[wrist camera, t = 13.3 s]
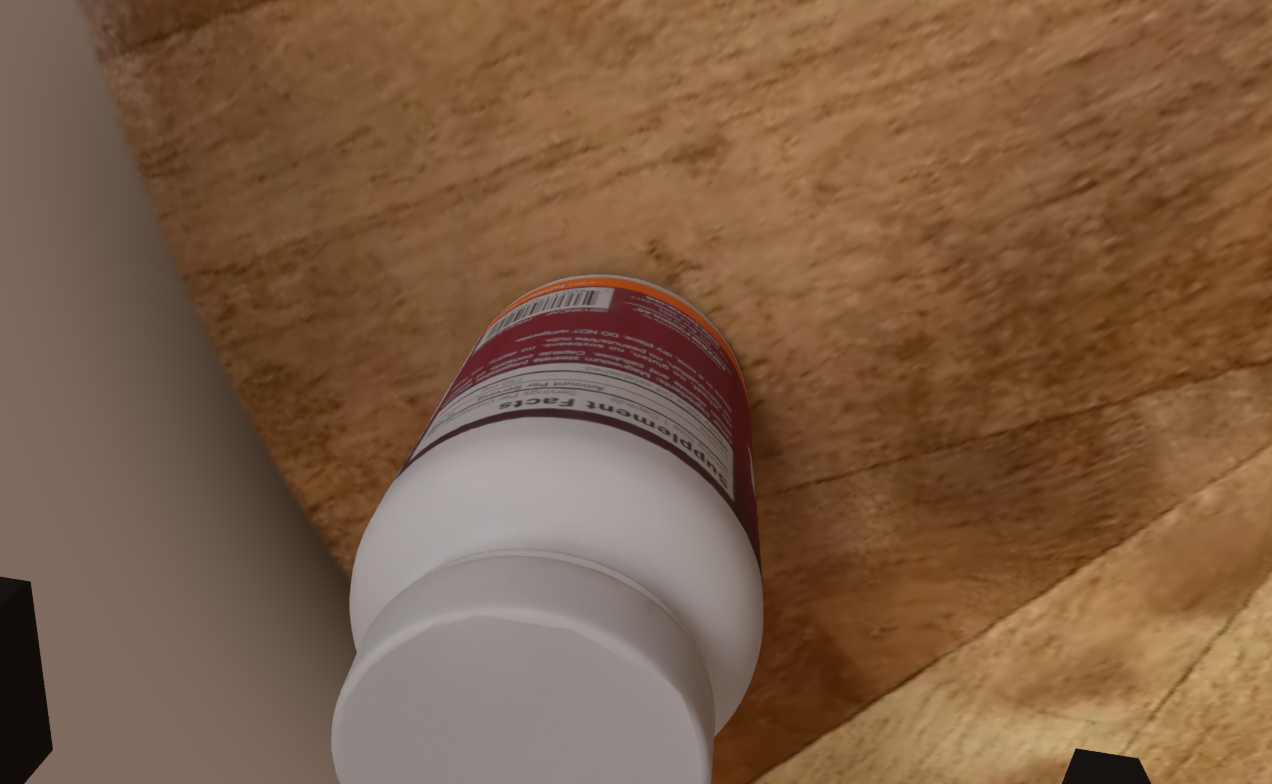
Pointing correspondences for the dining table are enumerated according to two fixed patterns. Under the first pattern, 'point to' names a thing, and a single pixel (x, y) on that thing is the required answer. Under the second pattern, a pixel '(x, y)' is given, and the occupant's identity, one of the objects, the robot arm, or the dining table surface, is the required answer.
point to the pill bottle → (563, 556)
